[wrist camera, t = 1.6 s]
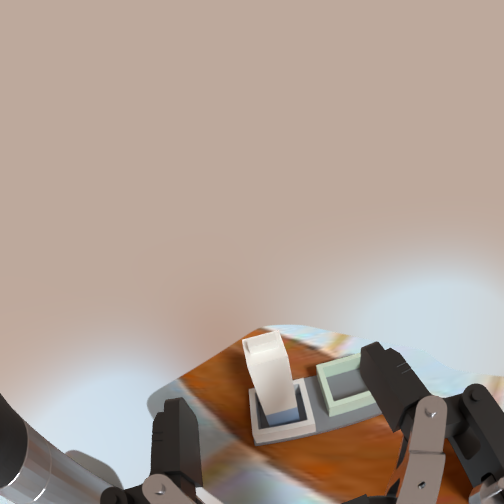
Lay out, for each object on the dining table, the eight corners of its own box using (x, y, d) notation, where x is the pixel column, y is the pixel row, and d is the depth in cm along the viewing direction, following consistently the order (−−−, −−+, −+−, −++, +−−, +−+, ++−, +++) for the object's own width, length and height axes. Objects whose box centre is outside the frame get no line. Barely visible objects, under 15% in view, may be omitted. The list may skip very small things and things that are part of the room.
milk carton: (271, 430, 28) (244, 359, 22) (265, 407, 32) (239, 332, 26) (300, 422, 29) (286, 348, 23) (292, 400, 32) (276, 322, 26)
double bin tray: (255, 446, 27) (250, 436, 26) (250, 391, 35) (245, 379, 34) (388, 411, 27) (392, 399, 26) (366, 363, 35) (367, 349, 33)
